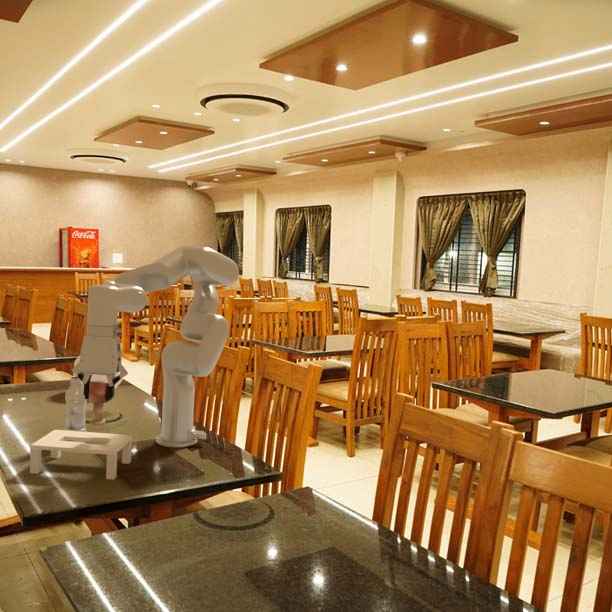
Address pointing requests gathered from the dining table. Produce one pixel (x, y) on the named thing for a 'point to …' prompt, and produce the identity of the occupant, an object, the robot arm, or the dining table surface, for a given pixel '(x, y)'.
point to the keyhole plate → (82, 448)
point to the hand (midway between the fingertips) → (98, 398)
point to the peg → (97, 400)
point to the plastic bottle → (75, 407)
